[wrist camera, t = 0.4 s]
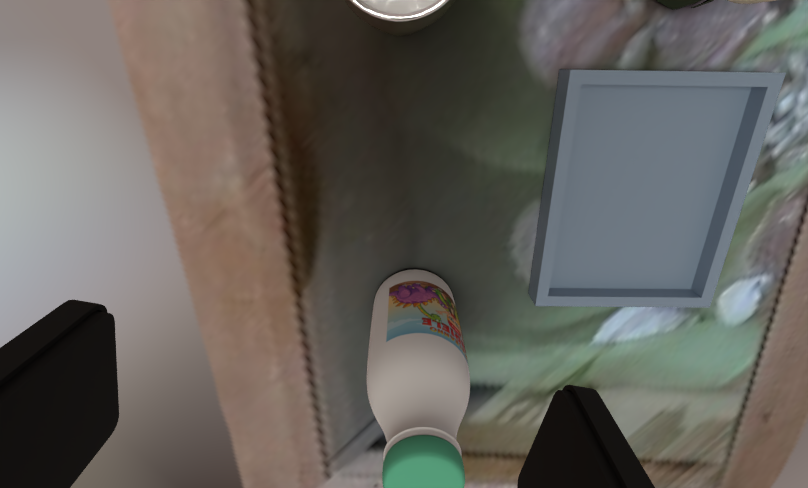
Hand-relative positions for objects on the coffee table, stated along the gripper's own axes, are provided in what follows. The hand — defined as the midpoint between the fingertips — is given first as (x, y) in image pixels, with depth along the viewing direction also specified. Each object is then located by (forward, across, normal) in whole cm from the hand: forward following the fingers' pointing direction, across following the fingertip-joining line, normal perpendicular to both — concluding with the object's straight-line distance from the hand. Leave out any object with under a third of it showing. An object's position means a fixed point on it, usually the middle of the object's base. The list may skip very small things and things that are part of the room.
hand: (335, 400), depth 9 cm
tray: (+30, -22, -1) cm, 37 cm away
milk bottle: (+30, -6, +14) cm, 33 cm away
